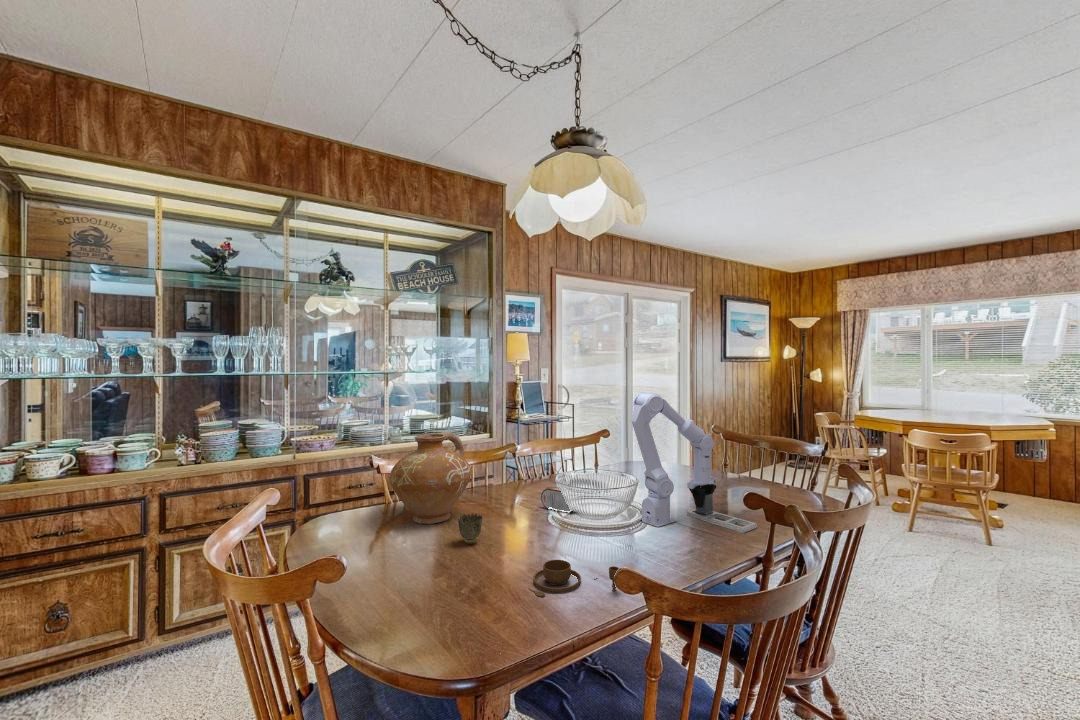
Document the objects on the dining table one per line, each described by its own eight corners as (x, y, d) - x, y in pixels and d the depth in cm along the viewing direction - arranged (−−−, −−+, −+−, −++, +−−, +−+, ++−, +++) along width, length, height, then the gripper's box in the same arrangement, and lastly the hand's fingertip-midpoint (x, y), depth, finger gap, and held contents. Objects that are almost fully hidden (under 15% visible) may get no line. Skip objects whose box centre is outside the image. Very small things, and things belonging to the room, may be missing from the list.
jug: (376, 518, 174) (375, 434, 174) (445, 502, 193) (444, 426, 193) (414, 539, 153) (413, 443, 153) (487, 518, 172) (486, 433, 172)
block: (705, 518, 169) (705, 495, 169) (695, 515, 172) (695, 492, 172) (712, 516, 171) (712, 493, 171) (702, 513, 175) (702, 490, 175)
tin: (579, 513, 178) (579, 489, 178) (575, 515, 175) (575, 492, 175) (544, 506, 186) (544, 484, 186) (539, 509, 183) (539, 486, 183)
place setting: (566, 566, 133) (566, 545, 133) (624, 592, 118) (623, 567, 118) (515, 586, 122) (515, 563, 122) (572, 618, 107) (572, 591, 107)
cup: (477, 548, 145) (477, 521, 145) (454, 546, 147) (454, 519, 147) (485, 539, 153) (485, 513, 153) (463, 537, 154) (463, 512, 154)
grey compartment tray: (743, 533, 156) (743, 528, 156) (687, 515, 173) (687, 511, 173) (756, 527, 160) (756, 523, 160) (700, 511, 178) (700, 507, 178)
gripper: (699, 472, 165) (699, 512, 165) (724, 466, 173) (724, 504, 173) (682, 468, 171) (682, 507, 171) (707, 463, 179) (707, 500, 179)
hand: (702, 505), depth 172 cm, fingers closed on block, 4 cm apart
